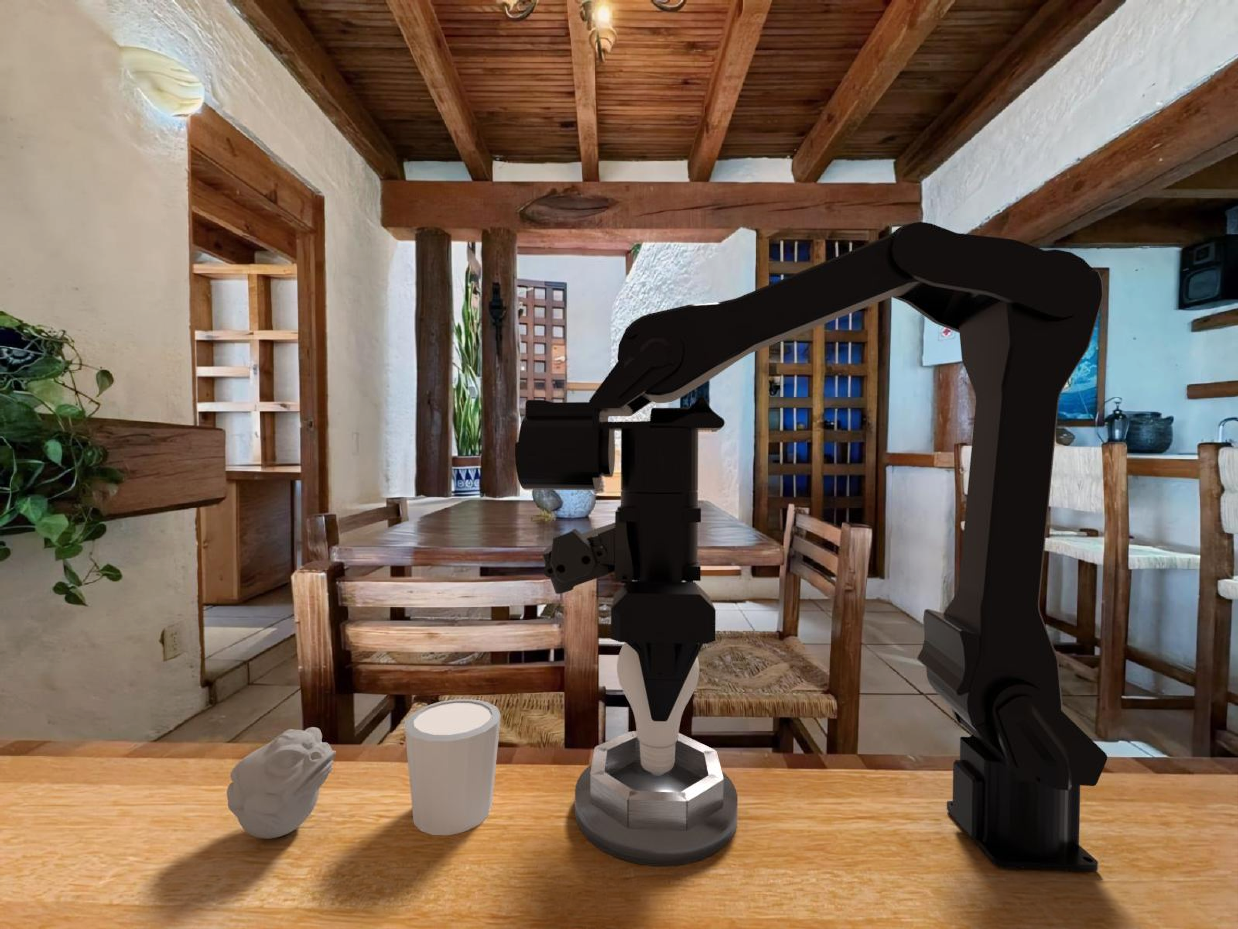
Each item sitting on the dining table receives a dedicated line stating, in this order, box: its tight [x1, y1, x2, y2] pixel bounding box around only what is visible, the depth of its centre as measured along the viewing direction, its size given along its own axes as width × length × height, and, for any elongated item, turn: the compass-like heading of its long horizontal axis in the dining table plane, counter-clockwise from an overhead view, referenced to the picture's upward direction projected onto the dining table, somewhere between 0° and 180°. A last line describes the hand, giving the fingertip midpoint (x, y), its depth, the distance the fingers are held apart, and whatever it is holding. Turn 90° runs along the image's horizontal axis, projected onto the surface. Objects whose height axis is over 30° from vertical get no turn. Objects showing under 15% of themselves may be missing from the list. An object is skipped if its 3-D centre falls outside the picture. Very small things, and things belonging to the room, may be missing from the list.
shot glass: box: [404, 698, 502, 836], centre depth 42 cm, size 7×7×7 cm
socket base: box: [574, 730, 739, 867], centre depth 43 cm, size 12×12×4 cm
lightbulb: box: [616, 642, 700, 776], centre depth 43 cm, size 6×6×11 cm
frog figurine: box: [226, 726, 337, 840], centre depth 40 cm, size 6×7×7 cm
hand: (658, 700), depth 43 cm, fingers closed on lightbulb, 6 cm apart
